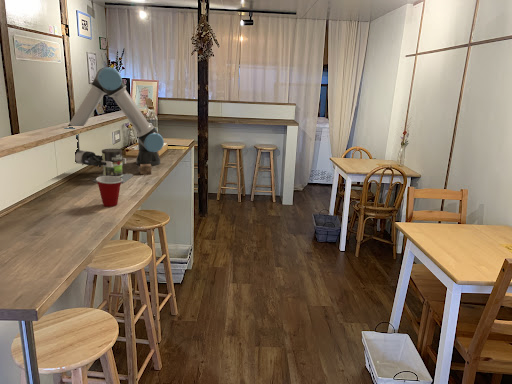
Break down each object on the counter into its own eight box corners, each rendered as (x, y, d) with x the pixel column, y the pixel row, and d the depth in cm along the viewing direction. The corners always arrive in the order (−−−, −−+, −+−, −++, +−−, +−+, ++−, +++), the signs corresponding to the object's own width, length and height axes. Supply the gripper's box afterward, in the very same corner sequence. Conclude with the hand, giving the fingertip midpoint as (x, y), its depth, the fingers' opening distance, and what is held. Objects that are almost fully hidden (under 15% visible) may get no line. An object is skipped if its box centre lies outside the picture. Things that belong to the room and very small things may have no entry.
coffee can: (127, 175, 214) (126, 150, 210) (111, 179, 205) (110, 152, 201) (114, 172, 219) (113, 147, 215) (99, 175, 210) (97, 150, 206)
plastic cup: (118, 209, 166) (117, 182, 162) (93, 208, 166) (91, 180, 162) (127, 201, 176) (126, 175, 173) (103, 200, 176) (101, 174, 173)
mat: (132, 176, 220) (132, 174, 220) (123, 183, 205) (122, 181, 204) (104, 174, 220) (104, 173, 220) (92, 181, 205) (92, 180, 205)
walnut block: (151, 172, 231) (150, 163, 230) (151, 174, 226) (151, 166, 224) (140, 172, 230) (140, 164, 228) (140, 174, 224) (140, 166, 223)
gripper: (101, 161, 227) (132, 165, 220) (70, 168, 207) (104, 173, 199) (100, 148, 225) (132, 152, 217) (69, 154, 205) (103, 159, 197)
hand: (119, 162), depth 208 cm, fingers closed on coffee can, 10 cm apart
